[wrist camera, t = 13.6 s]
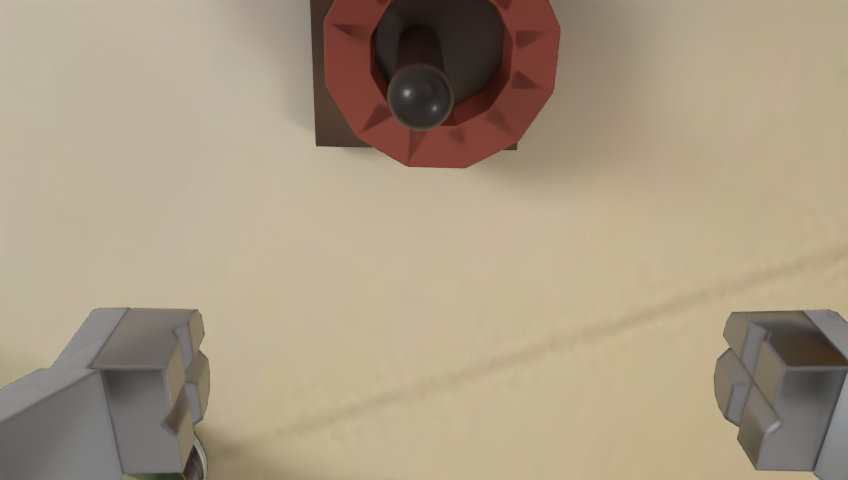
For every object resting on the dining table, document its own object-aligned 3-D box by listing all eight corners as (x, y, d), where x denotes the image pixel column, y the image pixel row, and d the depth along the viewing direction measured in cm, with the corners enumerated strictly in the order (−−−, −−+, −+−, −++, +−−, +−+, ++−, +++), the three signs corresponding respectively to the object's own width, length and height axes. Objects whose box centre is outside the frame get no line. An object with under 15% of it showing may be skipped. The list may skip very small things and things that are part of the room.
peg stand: (311, -75, 34) (263, -56, 23) (530, -69, 34) (584, -48, 23) (319, 137, 38) (282, 236, 27) (513, 141, 38) (552, 240, 27)
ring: (329, -78, 32) (320, -74, 29) (557, -69, 32) (571, -65, 29) (333, 142, 36) (326, 164, 34) (534, 148, 37) (545, 170, 34)
